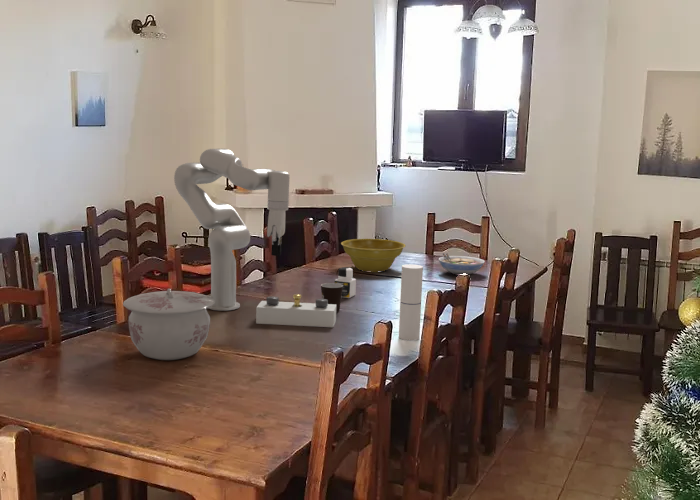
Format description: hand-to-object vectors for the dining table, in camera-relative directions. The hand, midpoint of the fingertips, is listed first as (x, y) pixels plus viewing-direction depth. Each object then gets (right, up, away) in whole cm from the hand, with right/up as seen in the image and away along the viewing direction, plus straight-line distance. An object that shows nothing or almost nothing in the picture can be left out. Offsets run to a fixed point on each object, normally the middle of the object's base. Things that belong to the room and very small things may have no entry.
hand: (276, 255), depth 278 cm
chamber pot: (-29, -31, -42) cm, 59 cm away
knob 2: (+17, -23, -1) cm, 28 cm away
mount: (+7, -24, 0) cm, 25 cm away
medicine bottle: (+25, -18, +44) cm, 54 cm away
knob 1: (-1, -22, 0) cm, 22 cm away
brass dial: (+8, -18, -1) cm, 20 cm away
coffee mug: (+20, -22, +20) cm, 36 cm away
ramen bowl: (+82, -10, +99) cm, 129 cm away
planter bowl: (+38, -8, +103) cm, 110 cm away
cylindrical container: (+47, -29, -15) cm, 57 cm away
